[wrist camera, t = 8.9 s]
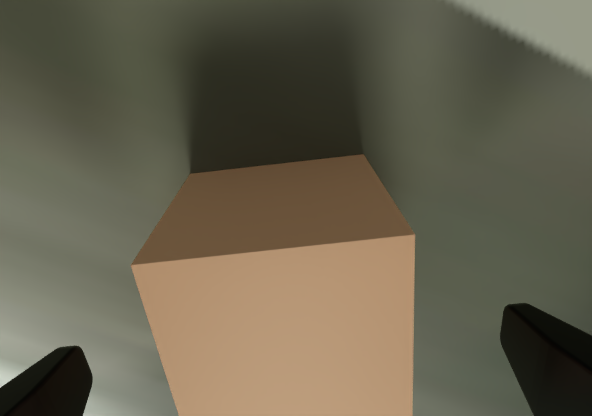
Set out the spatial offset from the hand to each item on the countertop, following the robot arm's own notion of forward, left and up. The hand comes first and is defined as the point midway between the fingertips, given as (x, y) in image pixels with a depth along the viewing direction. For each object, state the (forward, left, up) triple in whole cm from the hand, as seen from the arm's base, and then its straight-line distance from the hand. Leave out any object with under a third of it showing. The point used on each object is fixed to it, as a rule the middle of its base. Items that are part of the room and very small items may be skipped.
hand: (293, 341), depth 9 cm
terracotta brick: (0, 0, -4) cm, 5 cm away
